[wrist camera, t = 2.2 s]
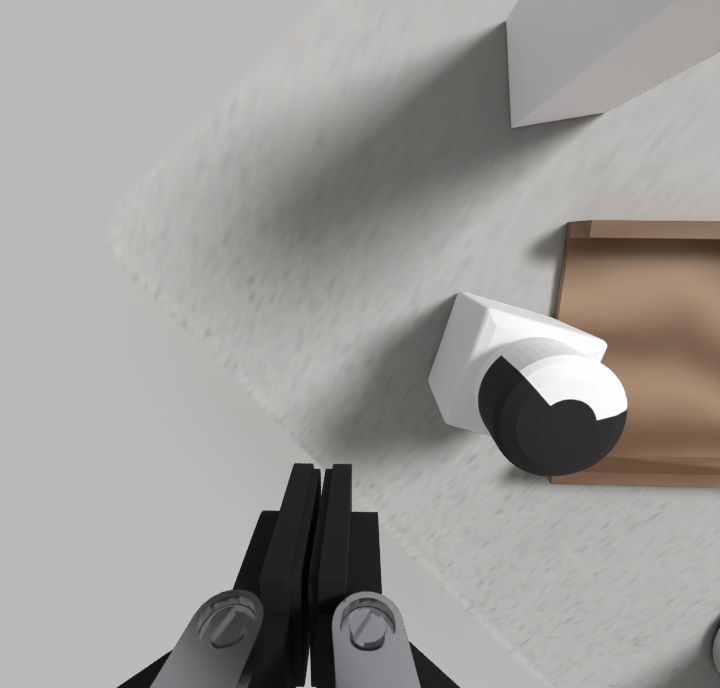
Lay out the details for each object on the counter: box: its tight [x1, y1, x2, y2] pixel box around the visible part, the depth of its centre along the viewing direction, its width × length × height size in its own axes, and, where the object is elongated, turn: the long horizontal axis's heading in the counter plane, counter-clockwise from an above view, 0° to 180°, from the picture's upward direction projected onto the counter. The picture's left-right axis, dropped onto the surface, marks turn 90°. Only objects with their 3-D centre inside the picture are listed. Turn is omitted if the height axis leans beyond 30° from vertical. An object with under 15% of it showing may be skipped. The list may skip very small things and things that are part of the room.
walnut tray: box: [546, 220, 720, 488], centre depth 27 cm, size 18×20×3 cm
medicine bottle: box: [428, 292, 627, 476], centre depth 23 cm, size 7×7×12 cm
